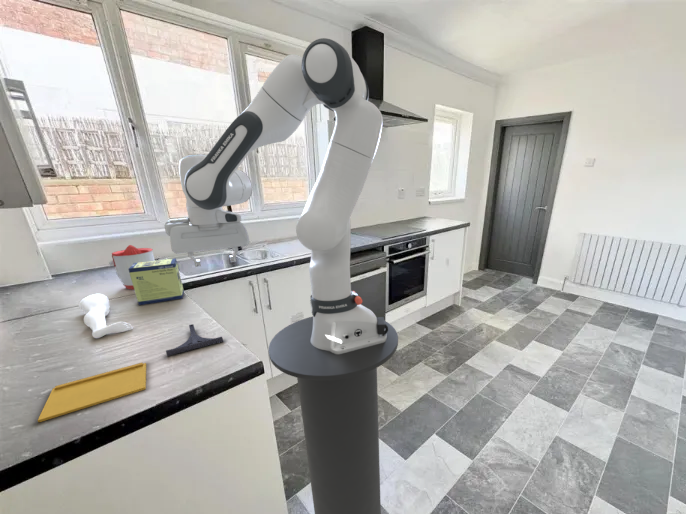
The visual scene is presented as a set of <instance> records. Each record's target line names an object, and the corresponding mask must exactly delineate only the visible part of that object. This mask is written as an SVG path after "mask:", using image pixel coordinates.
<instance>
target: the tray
mask: <svg viewBox="0 0 686 514" xmlns="http://www.w3.org/2000/svg"><path fill="white" fill-rule="evenodd" d="M146 389H147V362H144V363H143V362H137V363H135V364H132V365H131V364H130V365H127V366H124V367H120V368H117V369H113V370H109V371H106V372H105V371H104V372H102V373H98V374H95V375H91V376H87V377H84V378H81V379H77V380H73V381H69V382H65V383H62V384H58V385H55V386H54V387H52V389H51V392H50V393H49V396H48V398H47V400H46V402H45V404H44V406H43V408H42V411H41V412H40V415H39V416H38V419H37V422H38V423H42V422H45V421H48V420H51V419H55V418H58V417H62V416H64V415H67V414H71V413H74V412H78V411H80V410H84V409H87V408H90V407H93V406H96V405H97V406H98V405H99V404H103V403H106V402H109V401H114V400H116V399H119V398H121V397H125V396H129V395H131V394H135V393H138V392H141V391H144V390H146Z"/></svg>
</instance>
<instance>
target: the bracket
mask: <svg viewBox="0 0 686 514" xmlns="http://www.w3.org/2000/svg"><path fill="white" fill-rule="evenodd" d="M188 327H189V332H190V336H189V337H188V338H187V340H186V341H185V342H183V343H182V344H180V345H178V346H176V347H174V348H171V349H167V350H165V354H166V356H167V357H170V356H174V355H178V354H181V353H185V352H189V351H192V350H197V349H200V348H204V347H208V346H212V345H216V344H219V343H224V339H223V336H218V337H213V338H211V337H209V338H208V337H202V336H200V335H198V334H196V330H195V325H194V324H189V325H188Z"/></svg>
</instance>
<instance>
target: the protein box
mask: <svg viewBox="0 0 686 514" xmlns="http://www.w3.org/2000/svg"><path fill="white" fill-rule="evenodd" d="M128 270H129V273H130V277H131V280H132V283H133V287H134V290H133V291H134V293H135V296H136V301H137V304H138V306H144V305H149V304H156V303H163V302H168V301H174V300H175V301H176V300H181V299H184V293H185V290H184V286H183V282H182V278H181V274H180V273H181V272H180V269H179V266H178V261H177V258H167V259H158V260H155V261H148V262H139V263H133V265H132V266H131V267H130V268H129V269H128Z"/></svg>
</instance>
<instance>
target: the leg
mask: <svg viewBox="0 0 686 514" xmlns="http://www.w3.org/2000/svg"><path fill="white" fill-rule="evenodd" d="M109 299H110V298H109V297H108V296H107V295H105V294H103V293H93V294H89V295H87V296H85V297H83V298H82V299H81V300H80V301H79V302H78V305H77V306H78V308H79V309H80V310H82V311H83V313H84V314H85V315H84V316H83V323H84V325H86V326H87V327H88V328H90V330H91V331H92V332H91V336H92V337H93V338H94V339H100V338H102V337H103V336H105V335H108V334H109V335H110V334H119V333H124V332H127V331H129V330H133V328H134V326H133V325H132V324H130V323H129V322H126V321H118V322H114V323H112V324H108V325H107V320H106V316H108V315H109V313H110V311H111V310H110V309H111V308H110V300H109Z"/></svg>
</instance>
